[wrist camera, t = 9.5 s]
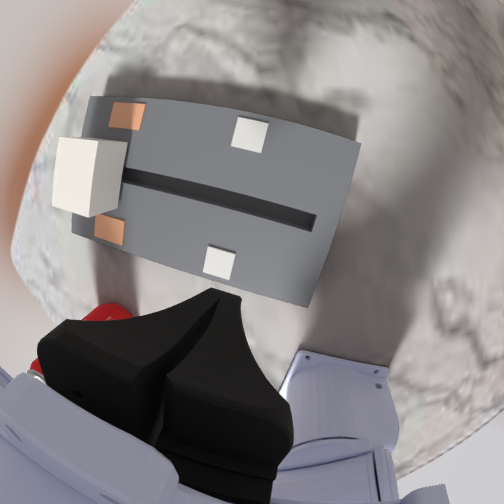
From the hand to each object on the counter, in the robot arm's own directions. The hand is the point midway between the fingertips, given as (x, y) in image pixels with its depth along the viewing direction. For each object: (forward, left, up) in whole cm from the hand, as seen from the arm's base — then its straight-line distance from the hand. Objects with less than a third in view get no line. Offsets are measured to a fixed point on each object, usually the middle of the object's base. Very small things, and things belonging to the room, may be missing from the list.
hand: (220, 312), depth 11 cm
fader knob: (+12, -3, -9) cm, 16 cm away
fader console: (+6, -3, -10) cm, 12 cm away
